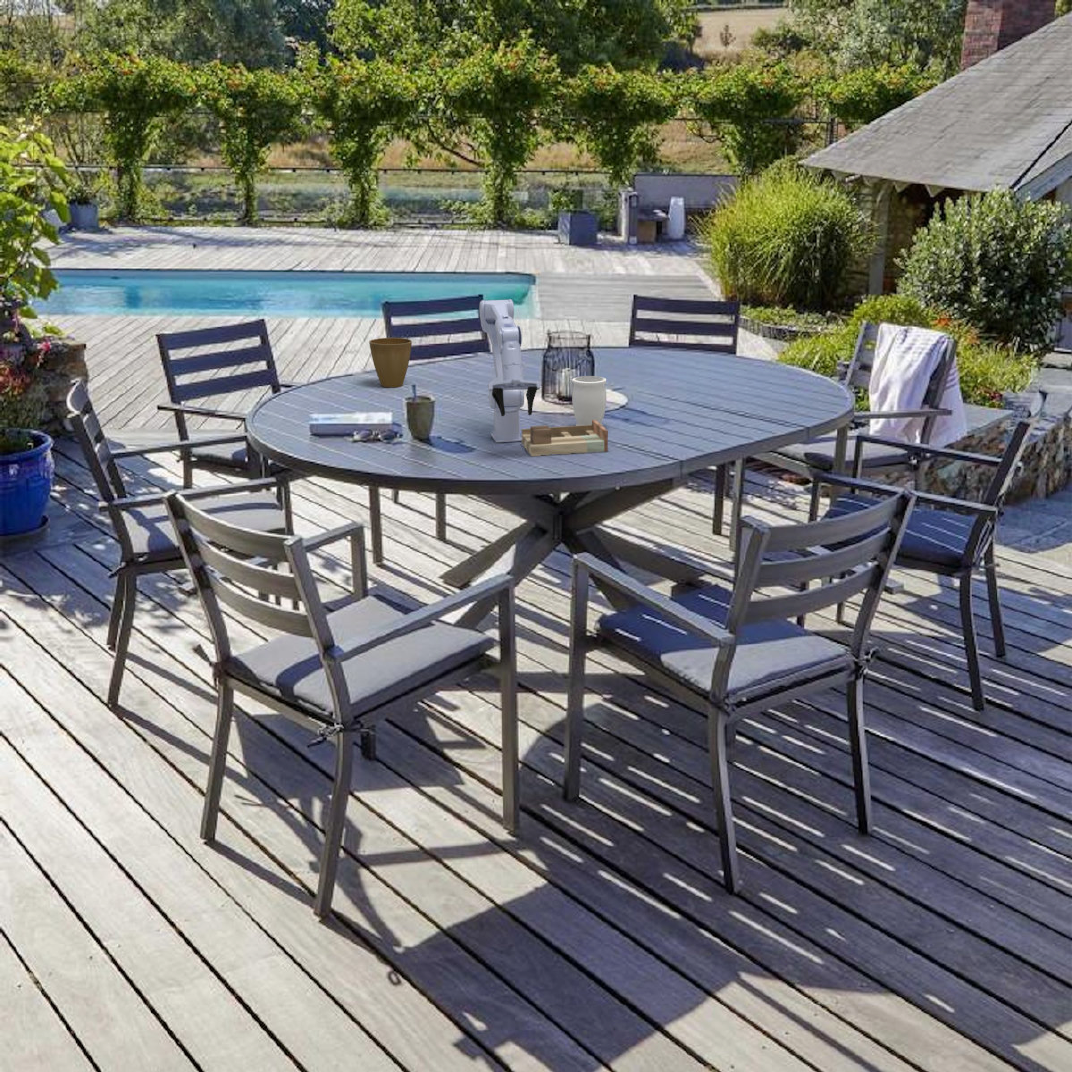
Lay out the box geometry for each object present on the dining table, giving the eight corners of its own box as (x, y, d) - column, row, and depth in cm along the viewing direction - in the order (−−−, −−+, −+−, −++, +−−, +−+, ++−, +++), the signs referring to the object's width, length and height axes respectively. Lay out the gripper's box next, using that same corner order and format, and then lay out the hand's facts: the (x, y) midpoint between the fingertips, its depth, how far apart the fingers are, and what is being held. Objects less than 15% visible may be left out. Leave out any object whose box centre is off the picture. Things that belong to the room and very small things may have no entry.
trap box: (521, 444, 365) (521, 424, 363) (595, 439, 369) (595, 419, 367) (531, 456, 352) (531, 435, 350) (607, 451, 356) (607, 430, 354)
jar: (609, 430, 379) (609, 381, 374) (575, 432, 378) (575, 383, 373) (602, 422, 389) (602, 374, 384) (569, 424, 388) (569, 376, 383)
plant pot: (399, 391, 436) (397, 345, 431) (363, 387, 442) (360, 342, 437) (421, 383, 449) (419, 338, 444) (385, 380, 455) (383, 336, 450)
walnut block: (530, 440, 357) (530, 426, 356) (547, 439, 358) (547, 425, 357) (534, 444, 352) (533, 430, 351) (551, 443, 353) (551, 429, 352)
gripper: (488, 363, 346) (493, 411, 344) (540, 362, 349) (545, 409, 346) (485, 372, 353) (489, 418, 350) (535, 370, 356) (540, 416, 353)
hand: (516, 414), depth 349 cm, fingers open, 7 cm apart
